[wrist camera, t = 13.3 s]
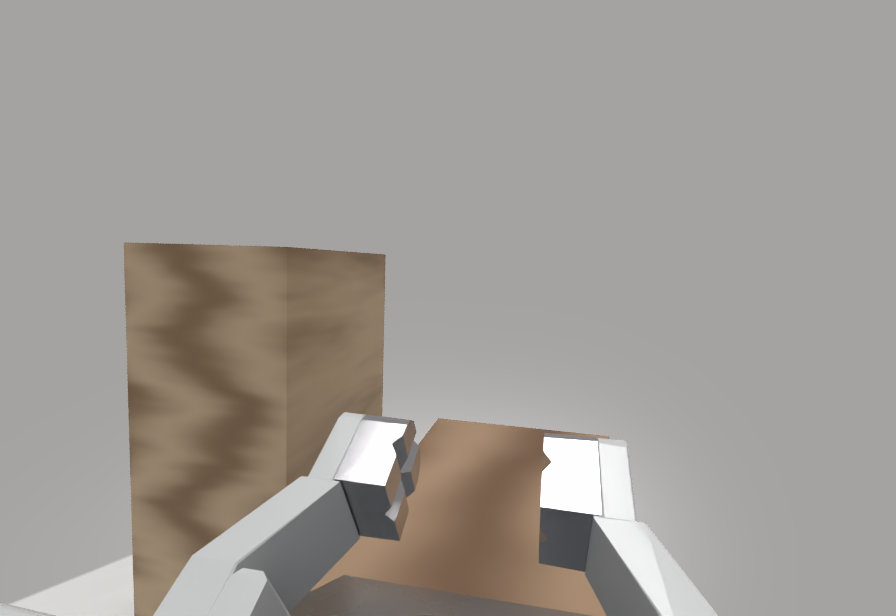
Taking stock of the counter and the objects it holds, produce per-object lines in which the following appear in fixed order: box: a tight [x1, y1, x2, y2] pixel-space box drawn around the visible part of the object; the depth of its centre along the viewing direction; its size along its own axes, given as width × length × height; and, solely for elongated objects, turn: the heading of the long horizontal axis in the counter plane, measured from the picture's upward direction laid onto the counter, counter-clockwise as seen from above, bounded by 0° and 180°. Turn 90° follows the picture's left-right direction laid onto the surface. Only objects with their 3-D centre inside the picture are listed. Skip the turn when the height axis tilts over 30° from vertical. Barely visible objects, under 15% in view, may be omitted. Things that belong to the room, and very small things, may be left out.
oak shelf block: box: [124, 243, 385, 616], centre depth 30 cm, size 9×13×26 cm
